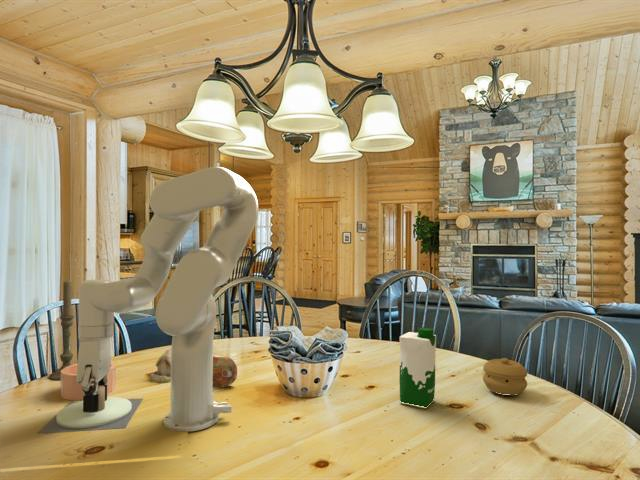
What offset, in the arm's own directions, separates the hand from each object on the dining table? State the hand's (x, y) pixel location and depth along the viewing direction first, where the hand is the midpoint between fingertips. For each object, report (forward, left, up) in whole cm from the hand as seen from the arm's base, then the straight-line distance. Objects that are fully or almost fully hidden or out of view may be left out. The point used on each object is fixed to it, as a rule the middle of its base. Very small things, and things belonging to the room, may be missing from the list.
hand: (95, 405), depth 103 cm
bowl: (+7, -17, -3) cm, 19 cm away
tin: (-27, -20, -3) cm, 34 cm away
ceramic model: (-14, -28, -3) cm, 31 cm away
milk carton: (-81, +3, -3) cm, 81 cm away
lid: (0, 0, -2) cm, 2 cm away
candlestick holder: (+19, -34, -3) cm, 39 cm away
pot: (-109, 0, -3) cm, 109 cm away
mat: (0, 0, -3) cm, 3 cm away
